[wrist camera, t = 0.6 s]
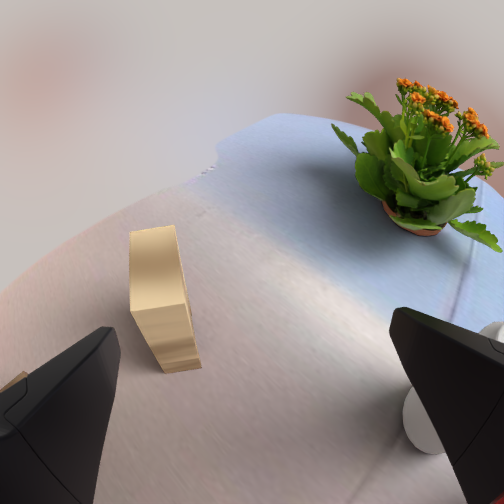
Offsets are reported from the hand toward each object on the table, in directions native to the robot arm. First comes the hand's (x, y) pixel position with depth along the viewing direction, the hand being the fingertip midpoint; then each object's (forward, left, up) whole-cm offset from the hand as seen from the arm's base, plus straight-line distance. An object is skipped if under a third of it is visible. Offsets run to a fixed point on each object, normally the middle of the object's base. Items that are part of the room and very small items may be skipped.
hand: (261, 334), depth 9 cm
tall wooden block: (+6, +7, -16) cm, 18 cm away
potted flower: (+28, -17, -16) cm, 36 cm away
